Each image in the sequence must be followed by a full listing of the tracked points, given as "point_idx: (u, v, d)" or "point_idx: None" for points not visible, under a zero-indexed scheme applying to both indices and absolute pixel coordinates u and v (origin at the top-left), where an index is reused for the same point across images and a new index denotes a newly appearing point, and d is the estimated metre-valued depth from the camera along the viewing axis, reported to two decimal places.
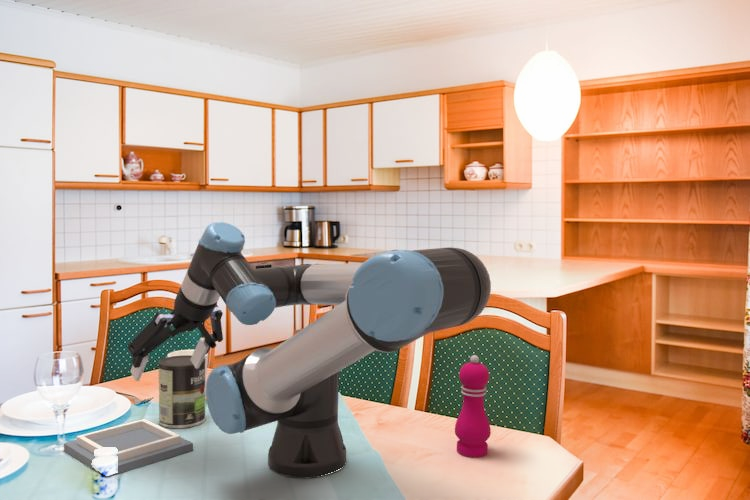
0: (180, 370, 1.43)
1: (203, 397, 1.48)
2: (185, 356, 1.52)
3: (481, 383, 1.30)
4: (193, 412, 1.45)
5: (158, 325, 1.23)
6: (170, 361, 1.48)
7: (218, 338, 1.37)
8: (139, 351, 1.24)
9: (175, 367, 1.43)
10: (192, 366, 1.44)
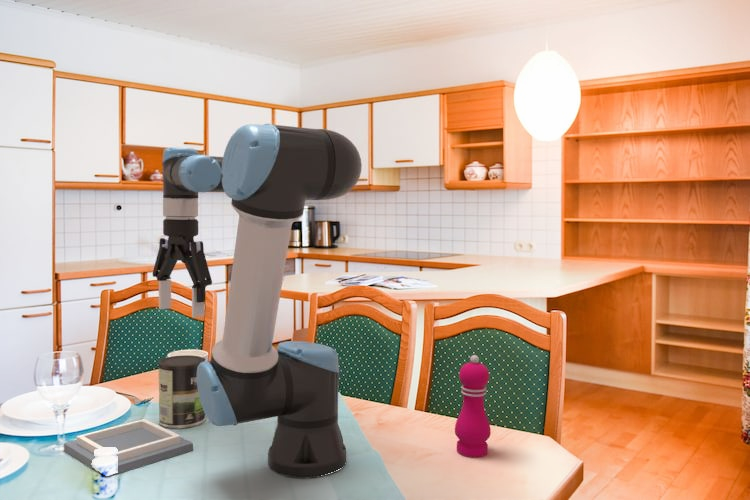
0: (180, 370, 1.43)
1: None
2: (185, 356, 1.52)
3: (481, 383, 1.30)
4: (193, 412, 1.45)
5: None
6: (170, 361, 1.48)
7: (198, 279, 1.39)
8: (155, 270, 1.51)
9: (175, 367, 1.43)
10: (192, 366, 1.44)
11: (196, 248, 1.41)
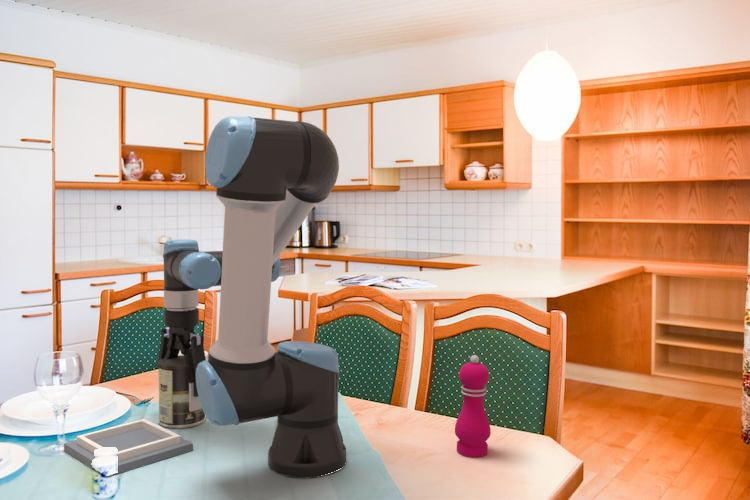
0: (180, 370, 1.43)
1: None
2: None
3: (481, 383, 1.30)
4: (193, 412, 1.45)
5: None
6: (170, 361, 1.48)
7: (195, 374, 1.42)
8: None
9: (175, 367, 1.43)
10: None
11: (196, 343, 1.43)
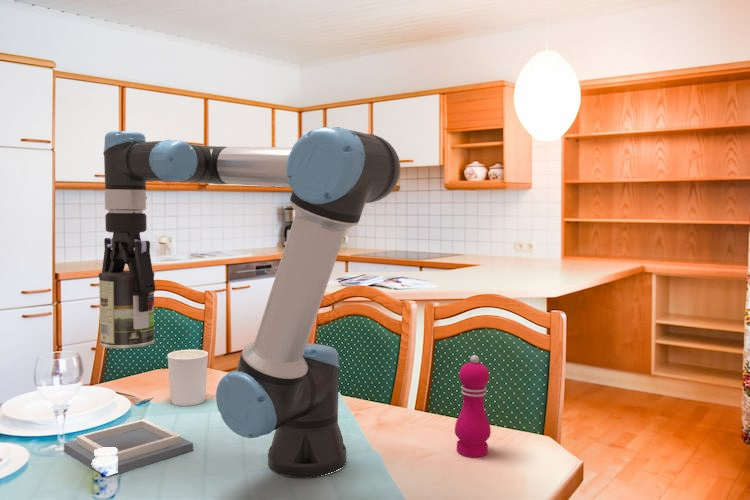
0: (122, 280, 1.24)
1: (151, 315, 1.29)
2: None
3: (481, 383, 1.30)
4: (138, 331, 1.26)
5: None
6: (113, 273, 1.28)
7: (140, 285, 1.23)
8: None
9: (116, 277, 1.23)
10: None
11: (141, 249, 1.23)
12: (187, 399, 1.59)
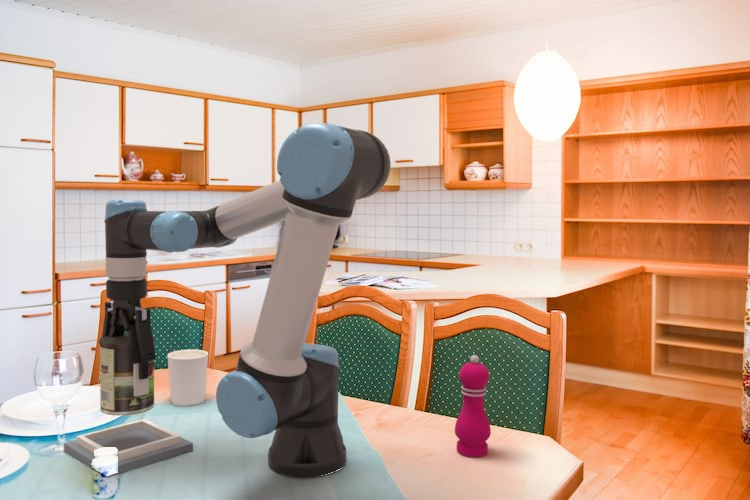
0: (123, 348, 1.25)
1: (151, 380, 1.30)
2: None
3: (481, 383, 1.30)
4: (138, 398, 1.27)
5: None
6: (113, 339, 1.29)
7: (140, 354, 1.24)
8: None
9: (117, 345, 1.24)
10: None
11: (141, 317, 1.24)
12: (187, 399, 1.59)
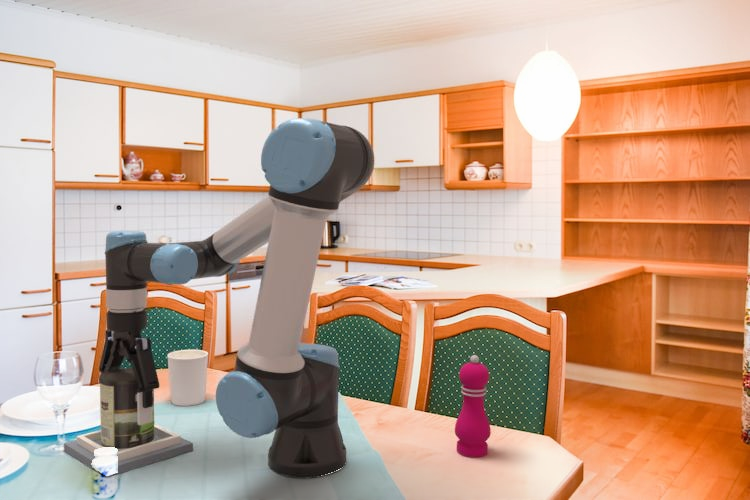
0: (122, 385, 1.25)
1: None
2: None
3: (481, 383, 1.30)
4: (138, 434, 1.27)
5: None
6: (113, 375, 1.30)
7: (144, 383, 1.23)
8: (101, 365, 1.35)
9: (117, 382, 1.25)
10: None
11: (142, 346, 1.24)
12: (187, 399, 1.59)
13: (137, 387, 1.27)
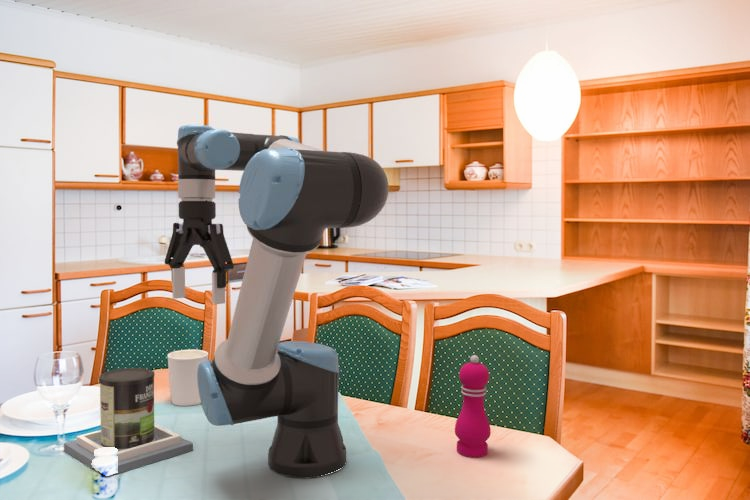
0: (123, 386, 1.25)
1: (151, 416, 1.30)
2: (133, 369, 1.34)
3: (481, 383, 1.30)
4: (138, 434, 1.27)
5: None
6: (113, 375, 1.30)
7: (220, 263, 1.31)
8: (167, 258, 1.42)
9: (117, 383, 1.25)
10: (137, 381, 1.26)
11: (216, 230, 1.33)
12: (187, 399, 1.59)
13: (137, 388, 1.26)
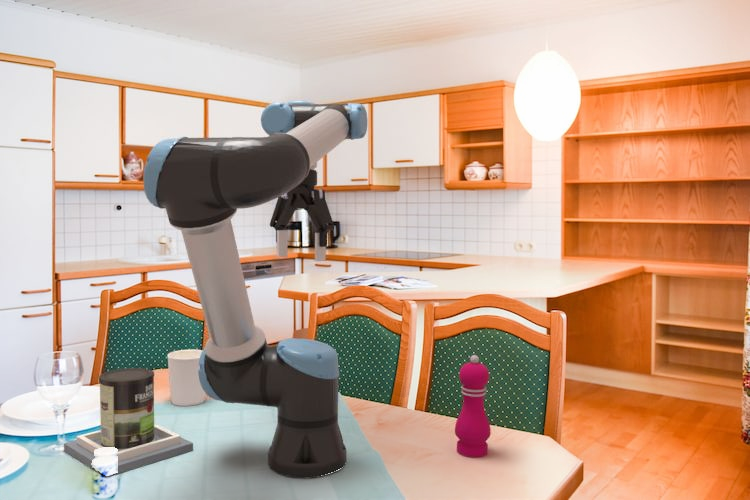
0: (122, 385, 1.25)
1: (151, 416, 1.30)
2: (133, 369, 1.34)
3: (481, 383, 1.30)
4: (138, 434, 1.27)
5: None
6: (113, 375, 1.30)
7: (322, 224, 1.48)
8: (272, 221, 1.60)
9: (116, 382, 1.25)
10: (136, 381, 1.26)
11: (319, 195, 1.49)
12: (187, 399, 1.59)
13: (137, 387, 1.26)
